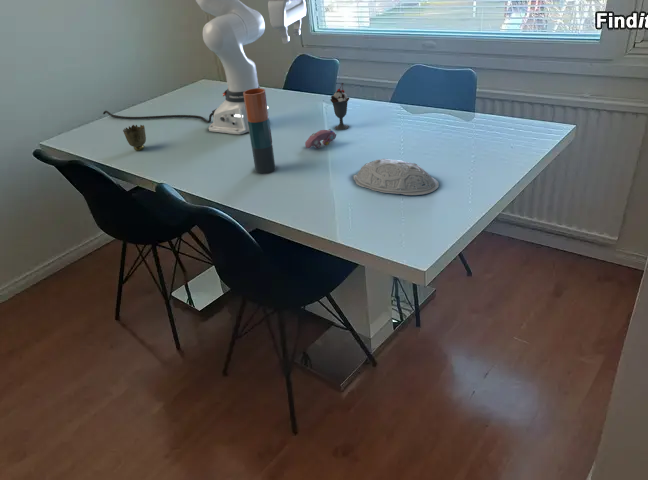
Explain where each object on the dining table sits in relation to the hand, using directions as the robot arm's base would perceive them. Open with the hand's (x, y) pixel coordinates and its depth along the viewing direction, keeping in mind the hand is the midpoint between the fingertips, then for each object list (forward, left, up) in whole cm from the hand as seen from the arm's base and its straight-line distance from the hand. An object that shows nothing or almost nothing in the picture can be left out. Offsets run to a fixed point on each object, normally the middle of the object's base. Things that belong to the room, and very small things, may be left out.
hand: (291, 39), depth 161 cm
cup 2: (-61, -5, -34) cm, 70 cm away
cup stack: (-7, -17, -34) cm, 39 cm away
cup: (-7, -17, -18) cm, 26 cm away
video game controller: (+5, +3, -35) cm, 35 cm away
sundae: (+7, +21, -34) cm, 41 cm away
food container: (+34, -21, -34) cm, 53 cm away
